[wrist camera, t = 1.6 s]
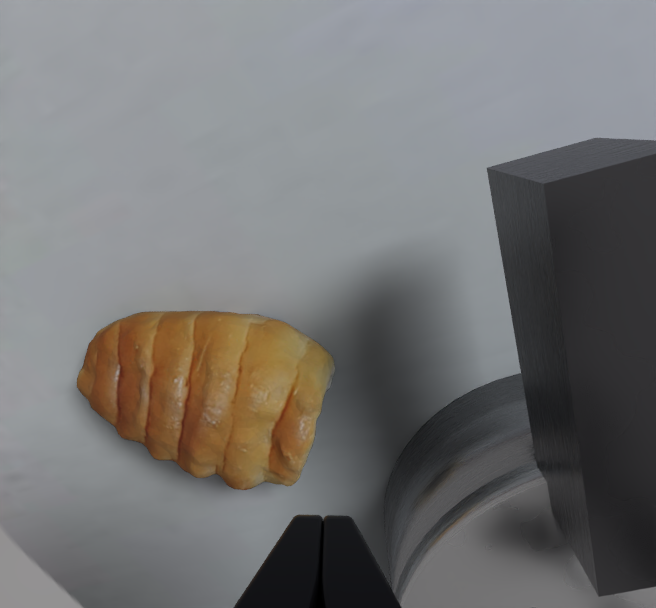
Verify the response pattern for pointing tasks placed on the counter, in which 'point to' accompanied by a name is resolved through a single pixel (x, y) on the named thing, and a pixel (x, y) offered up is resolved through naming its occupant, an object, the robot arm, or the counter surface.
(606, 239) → the lid
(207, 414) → the pastry
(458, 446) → the pot
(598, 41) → the counter surface
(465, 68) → the counter surface
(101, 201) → the counter surface
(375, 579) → the robot arm
